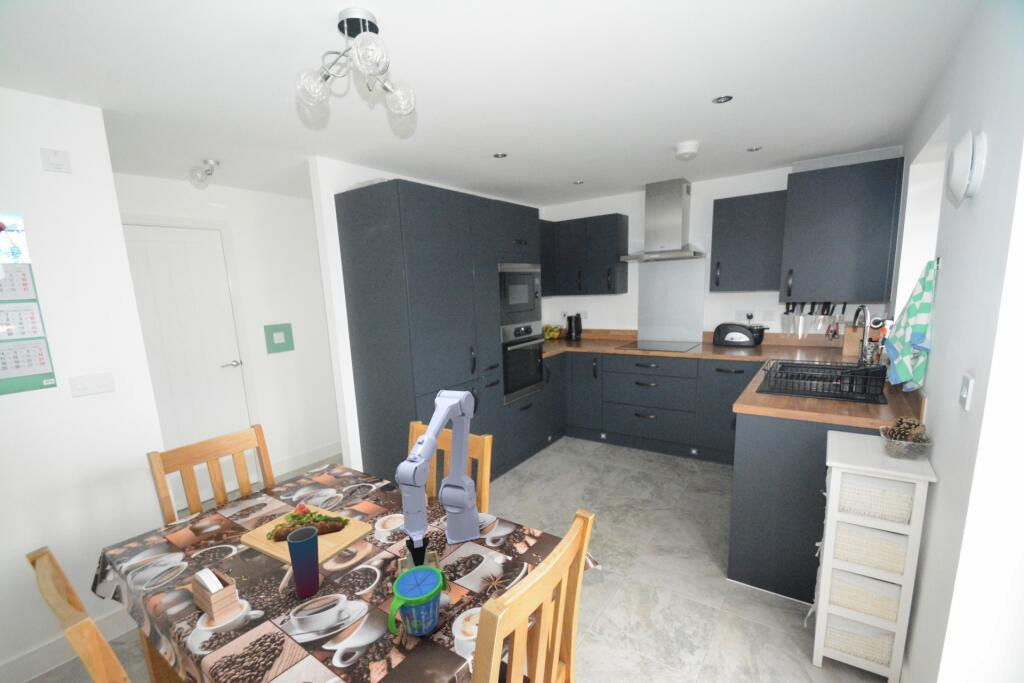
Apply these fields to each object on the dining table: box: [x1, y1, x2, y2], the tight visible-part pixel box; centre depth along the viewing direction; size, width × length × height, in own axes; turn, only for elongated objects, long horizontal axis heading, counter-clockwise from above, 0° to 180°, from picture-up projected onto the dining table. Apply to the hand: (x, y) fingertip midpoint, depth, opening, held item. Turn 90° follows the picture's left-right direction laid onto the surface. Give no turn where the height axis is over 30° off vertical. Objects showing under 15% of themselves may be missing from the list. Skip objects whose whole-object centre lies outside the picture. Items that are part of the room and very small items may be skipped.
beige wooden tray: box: [397, 550, 442, 577], centre depth 106 cm, size 10×10×3 cm
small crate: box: [405, 545, 428, 570], centre depth 106 cm, size 5×5×5 cm
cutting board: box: [240, 503, 374, 568], centre depth 128 cm, size 35×23×8 cm
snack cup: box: [387, 566, 449, 637], centre depth 90 cm, size 16×10×10 cm
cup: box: [287, 527, 320, 599], centre depth 103 cm, size 7×7×15 cm
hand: (418, 558), depth 106 cm, fingers closed on small crate, 5 cm apart
